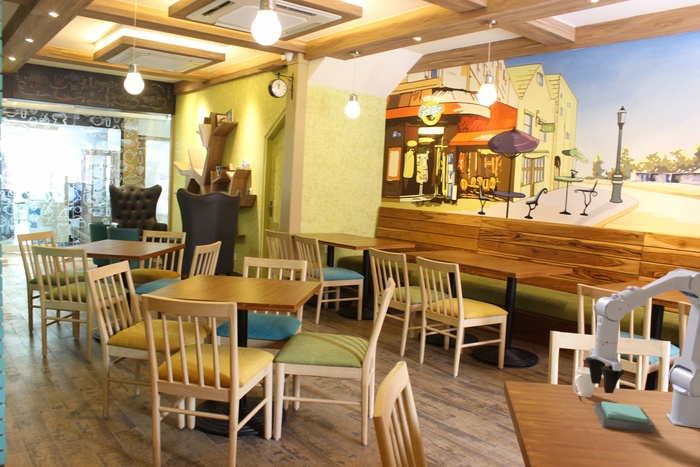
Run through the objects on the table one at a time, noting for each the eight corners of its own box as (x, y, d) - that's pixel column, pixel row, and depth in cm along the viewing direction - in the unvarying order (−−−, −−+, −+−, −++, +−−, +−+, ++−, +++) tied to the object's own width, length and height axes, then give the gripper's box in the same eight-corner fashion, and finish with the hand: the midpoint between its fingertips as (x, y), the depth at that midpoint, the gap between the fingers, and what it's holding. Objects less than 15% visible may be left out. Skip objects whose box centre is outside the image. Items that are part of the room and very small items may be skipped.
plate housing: (641, 416, 168) (642, 408, 168) (653, 434, 156) (654, 425, 155) (594, 410, 171) (595, 402, 171) (602, 427, 158) (603, 418, 158)
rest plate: (638, 411, 167) (638, 406, 167) (647, 424, 157) (647, 419, 157) (601, 406, 169) (601, 401, 169) (608, 419, 159) (608, 413, 159)
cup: (600, 396, 184) (603, 372, 183) (583, 402, 178) (585, 376, 177) (580, 389, 189) (583, 365, 189) (563, 394, 183) (565, 370, 183)
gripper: (580, 333, 168) (576, 378, 169) (605, 347, 153) (600, 396, 154) (604, 334, 168) (600, 379, 169) (631, 348, 154) (626, 397, 155)
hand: (602, 388), depth 162 cm, fingers open, 7 cm apart
